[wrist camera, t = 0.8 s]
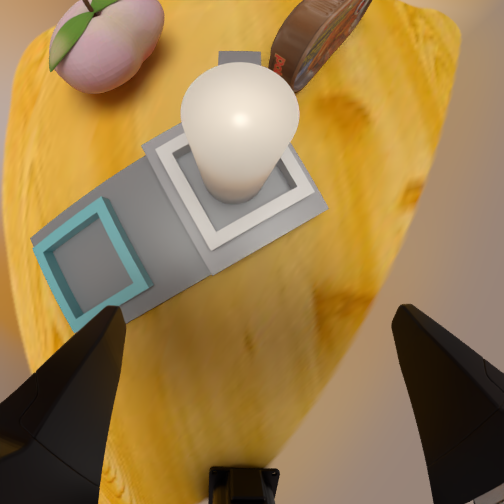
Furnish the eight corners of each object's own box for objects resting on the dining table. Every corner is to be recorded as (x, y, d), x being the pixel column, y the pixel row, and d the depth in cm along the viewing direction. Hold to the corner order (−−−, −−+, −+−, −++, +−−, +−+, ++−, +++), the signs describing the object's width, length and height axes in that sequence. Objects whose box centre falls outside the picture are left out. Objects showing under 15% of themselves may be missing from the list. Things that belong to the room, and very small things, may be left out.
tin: (286, 109, 23) (313, 52, 14) (254, 88, 22) (267, 25, 14) (362, 20, 23) (395, -29, 15) (337, 4, 23) (363, -48, 14)
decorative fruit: (117, 24, 21) (86, -43, 11) (187, 42, 22) (173, -38, 12) (61, 100, 21) (2, 48, 11) (128, 126, 22) (77, 64, 12)
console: (89, 343, 22) (65, 362, 17) (36, 238, 21) (5, 237, 17) (316, 212, 23) (336, 205, 18) (251, 104, 22) (256, 77, 18)
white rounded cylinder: (265, 204, 20) (302, 166, 10) (202, 205, 19) (178, 166, 9) (263, 132, 20) (293, 46, 10) (203, 132, 19) (186, 45, 9)
